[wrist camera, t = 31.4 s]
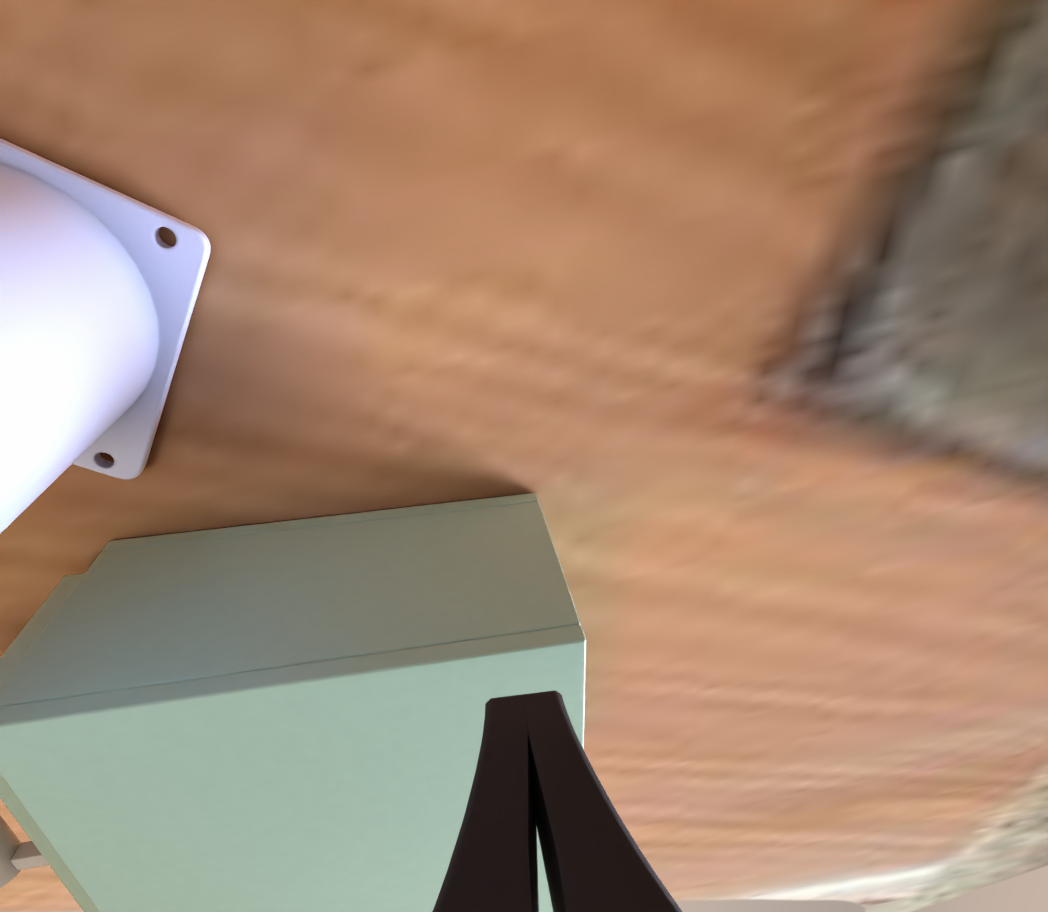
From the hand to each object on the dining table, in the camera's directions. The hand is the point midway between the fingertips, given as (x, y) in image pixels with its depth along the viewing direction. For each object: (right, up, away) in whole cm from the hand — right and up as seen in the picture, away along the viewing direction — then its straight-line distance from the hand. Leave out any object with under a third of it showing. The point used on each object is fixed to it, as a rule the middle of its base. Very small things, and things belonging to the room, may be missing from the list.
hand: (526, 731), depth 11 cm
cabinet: (-6, -3, +12) cm, 14 cm away
